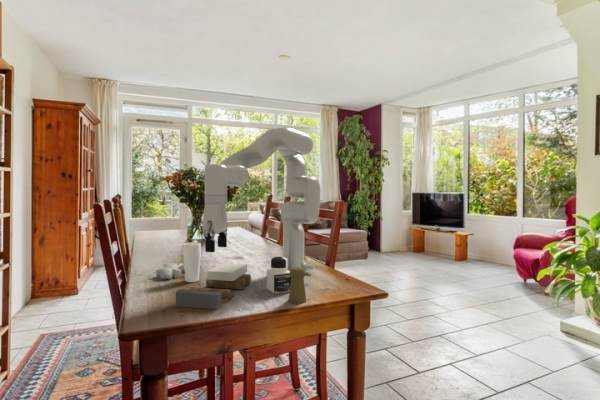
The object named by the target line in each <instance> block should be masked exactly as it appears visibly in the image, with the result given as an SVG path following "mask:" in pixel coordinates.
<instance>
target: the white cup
mask: <svg viewBox="0 0 600 400" xmlns="http://www.w3.org/2000/svg"><path fill="white" fill-rule="evenodd" d="M201 243H202V242H196V241H195V242H193V241H192V242H185V243H183V245H182V246H183V247H182V248H183V249H182V253H183V254H182V255H183V256H182V257H183V268H184V279H185V280H184V281H185V282H186V283H196V282H198V281H199V280H200V267H201V259H202V256H201V255H202V244H201Z"/></svg>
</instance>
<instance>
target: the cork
mask: <svg viewBox="0 0 600 400" xmlns="http://www.w3.org/2000/svg"><path fill="white" fill-rule="evenodd" d="M290 276H291V285H290V292H288V302H289V303H291V304H294V305H295V304H299V305H300V304H305V303H307V294H306V285H305V276H306V273H305V270H304V268H301V267H294V268H292V269H291V270H290Z"/></svg>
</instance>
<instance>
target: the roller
mask: <svg viewBox="0 0 600 400" xmlns="http://www.w3.org/2000/svg"><path fill="white" fill-rule="evenodd" d="M189 290H198V291H212V292H222V298H226V299H228V302H230V301H231V300H232V298H233V297H232V294H233V291H232V289H227V288H213V287H196V286H191V287H190V288H189Z"/></svg>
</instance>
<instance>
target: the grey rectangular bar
mask: <svg viewBox="0 0 600 400" xmlns="http://www.w3.org/2000/svg"><path fill="white" fill-rule="evenodd" d="M222 303H223V302H222V292H212V291H198V290H190V289H185V288H184V289H179V290H177V291H175V307H180V308H181V307H183V308H195V309H204V310H205V309H206V310H216V311H217V310H219V309H220V308H222V305H223V304H222Z"/></svg>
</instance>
